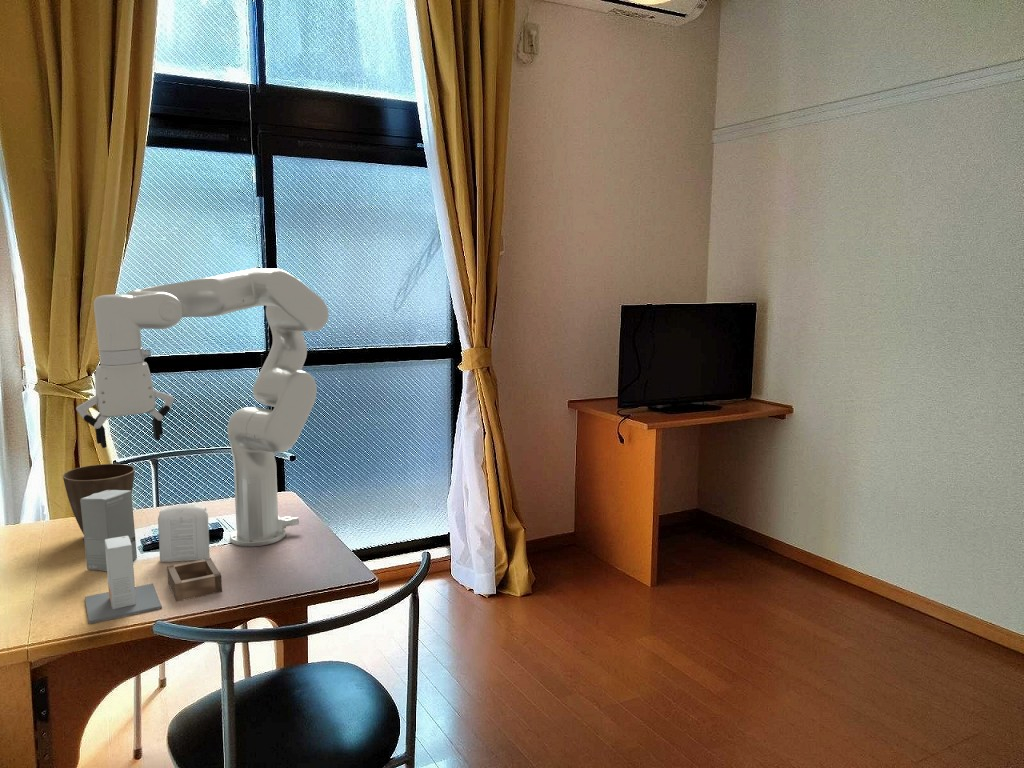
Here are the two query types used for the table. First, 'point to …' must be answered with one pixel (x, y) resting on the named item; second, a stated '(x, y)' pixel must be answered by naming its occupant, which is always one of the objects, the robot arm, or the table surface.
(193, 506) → the photo printer
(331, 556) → the table surface
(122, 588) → the skincare box
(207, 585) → the frame
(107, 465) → the plant pot
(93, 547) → the skincare box
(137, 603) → the grey mat
